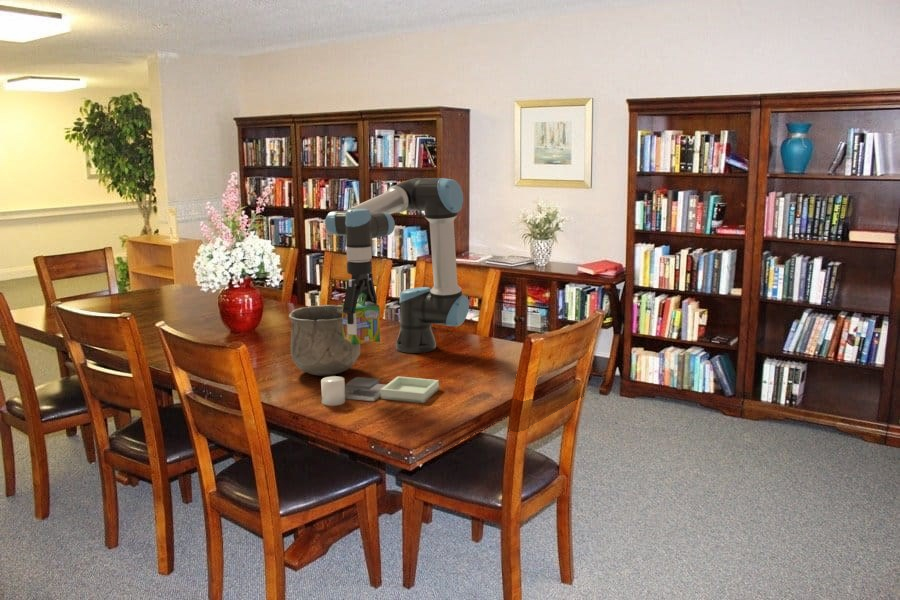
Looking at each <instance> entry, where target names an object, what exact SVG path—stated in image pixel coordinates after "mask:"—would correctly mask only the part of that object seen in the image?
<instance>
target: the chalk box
mask: <svg viewBox="0 0 900 600" xmlns="http://www.w3.org/2000/svg"><path fill="white" fill-rule="evenodd" d="M366 297H367V295H366V294H364V293H362V292H361V294H359V298H358V301H357V305H356V309H355V313H356V326H357V334H356V335H352V334H347V313H343V306H344V302H343V303H341V306H342V338H343V339H344V340H346V341H348V342H349V343H351V344H353V345H357V344H360V345H363V344H369V343H370V344H371V343H379V342H380V341H381V333H380V332H381V325H380V324H381V323H380V317H381V316H380V314H381V313H380V312H381V311H380V310H381V309H380V307H381V306H380V305H379V304H378V303H377V304H375V303H373V302H371V301H366ZM362 298H363V300H362Z"/></svg>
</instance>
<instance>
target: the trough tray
mask: <svg viewBox="0 0 900 600" xmlns="http://www.w3.org/2000/svg"><path fill="white" fill-rule="evenodd" d="M439 381H440V380H439V379H433V378H432V379H431V378H428V379H427V378H420V377H409V376H400V375H399V376H396V377H395V378H393V379H392V380H390V381H389V383H387V384H385V385H386V386H384V387H383V388H382V389H381V396H380V399H381V400H389V401H390V400H391V401H400V402H407V403H408V402H409V403H410V402H411V403H419V404H420V403H421V404H424V403H426V402H427V401H428V400H429V399H431V397H432V396H433V395H435V393H436V392H438V390H439V388H440V384H439V383H440V382H439Z"/></svg>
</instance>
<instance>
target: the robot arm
mask: <svg viewBox="0 0 900 600" xmlns="http://www.w3.org/2000/svg"><path fill="white" fill-rule="evenodd" d="M463 204H464V195H463V190H462V187H461V185H460V184H459V183H458V182H457V180H455V179H451V178H445V177H417V178H410V179H407V180H404V181H401V182H399V183H396V184H395V185H392V186H390V187H388V189H387V190H386V192H384V193H381V194H380V195H376V196H375V197H372V198H370V199H368V200H366V201H363V202H360V203H359V204H357V205H354V206H352V207H350V208H347V209H345V210H342V211H340V210H335V211H330V212H328V213H327V215H326V217H325V220H324V224H325V229H326V230H327V232H328V233H329V234H331V235H335V236H345V237H346V238H345V239H346V240H345V241H346V243H345V245H346V249H345V252H346V259H347V260H348V261H347V262H346V272H347V274H348V275H351V279H346V284H345V286H346V287H345V293H344V294H345V295H344V301H343V303H344V306H343V313H347V334H352V335H356V334H357V326H356V313H355V309H356V305H357V302H358V299H359V295H360V294H361V293H364V294H366V295H367V297H366V301H371V302H373V303H375V304H377V305H378V301H377V300H378V299H377V293H376V289H375V284H374V281H373V280H374V279H373V277H374V276H373V273H372V272H373V263H372V259H373V257H372V254H373V252H372V239H377V238H378V239H379V238H384V237H386V236H390V235H391V234H392V233H393V232H394V230H395V228H396V227H395V226H396V223H395V219H394V217H393V216H392V214H394V213H398V214H399V213H403V212H406V211H417V212H418V211H419V212H424V219H426V220H427V221H428V222H429V232H430V233H429V234H430V235H429V236H430V246H431V247H430V248H431V249H430V251H431V263H432V275H433V276H432V277H433V286H432V287H429V286H421V287H412V288H407V289H403V290H402V291H401V292H400V293H399V314H400V315H399V320H400V321H399V324H400V328H399V332H398V335H397V339H396V342H395V349H396V350H397V351H398V352H402V353H408V354H421V353H428V352H432V351H434V350H436V348H437V343H436V339H435V336H434V333H433V330H432V325H441V326H447V327H459V326H461V325H462V324H463V323H464V322H465V320H466V319H467V316H468V313H469V308H470V300H469V298H468V296H466V295H465V294H463V289H462V287H461V286H460V285H458V271H457V258H456V256H457V255H456V240H455V238H456V237H455V236H456V235H455V225H454V222H455V221H454V220H455V219H456V218H457V217H458V213H459V212H460V211H462V207H463Z"/></svg>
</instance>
